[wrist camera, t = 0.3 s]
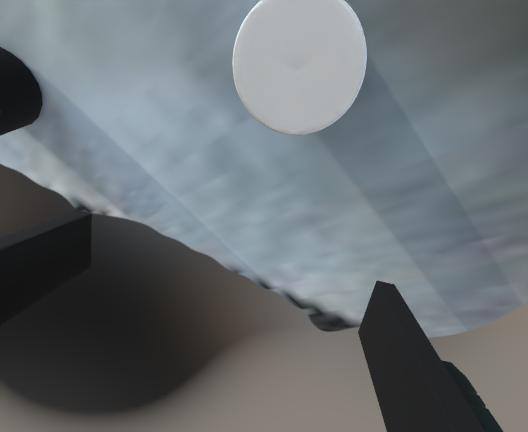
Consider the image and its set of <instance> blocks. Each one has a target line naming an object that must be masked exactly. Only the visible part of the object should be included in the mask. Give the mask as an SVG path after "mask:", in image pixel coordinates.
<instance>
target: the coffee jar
mask: <svg viewBox="0 0 528 432" xmlns="http://www.w3.org/2000/svg"><path fill="white" fill-rule="evenodd" d="M41 107H42V94H41V91H40V88H39V85H38V83H37V81H36V79H35V78H34V76H33V74H32V73H31V71H30V70H29V69H28V68H27V67H26V66H25V64H24V63H23V62H22V61H21V60H19V59H18V58H17V57H16V56H14V55H13V54H12V53H10V52H8V51H6V50H5V49H3V48H1V47H0V135H3V134H5V133H8V132H11V131H13V130H16V129H19V128H21V127H24V126H27V125H29V124H32V123H33V122H34V121H35V120H36V119H37V118H38V117H39V114H40V111H41Z"/></svg>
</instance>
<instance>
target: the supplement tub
mask: <svg viewBox="0 0 528 432" xmlns="http://www.w3.org/2000/svg"><path fill="white" fill-rule="evenodd" d="M366 62H367V50H366V41H365V36H364V32H363V28H362V26H361V23H360V21H359V19H358V17H357V15H356V14H355V12H354V11H353V9H352V8H351V7H350V5H349V4H348V3H347V2H346V1H345V0H261V1H260V2H259V3H258V4H256V6H255V7H254V8H253V9H252V10H251V11H250V12H249V14H248V15H247V17H246V18H245V20H244V22H243V23H242V25H241V27H240V29H239V32H238V34H237V37H236V41H235V45H234V50H233V59H232V67H233V76H234V82H235V85H236V89H237V92H238V94H239V96H240V99H241V100H242V102H243V104H244V106H245V107H246V109H247V110H248V111H249V112H250V114H251V115H252V116H253V117H254V118H255V119H257V120H258V121H259V122H260V123H261V124H263V125H264V126H266V127H268V128H270V129H272V130H274V131H277V132H280V133H284V134H290V135H303V134H309V133H313V132H317V131H319V130H321V129H324V128H326V127H328V126H329V125H331V124H333V123H334V122H335V121H337V120H338V119H339V118H340V117H341V116H342V115H343V114H344V113H345V112H346V111H347V110H348V109H349V107H350V106H351V105H352V103H353V102H354V100H355V98H356V97H357V95H358V93H359V91H360V88H361V85H362V83H363V79H364V75H365V71H366Z"/></svg>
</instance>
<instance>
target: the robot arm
mask: <svg viewBox="0 0 528 432" xmlns="http://www.w3.org/2000/svg"><path fill="white" fill-rule="evenodd" d="M91 220H92V214H90V213H86V212H82V211H77V210H75V211H72V212H69V213H67V214H64V215H61V216H58V217H55V218H52V219H50V220H47V221H44V222H41V223H38V224H36V225H33V226H30V227H27V228H24V229H22V230H19V231H16V232H13V233H11V234H7V235H5V236H2V237H0V326H1V325H2V324H4V323H5V322H7V321H8V320H10V319H11V318H13V317H14V316H16V315H17V314H19V313H21V312H22V311H24V310H25V309H27V308H28V307H30V306H31V305H33V304H34V303H36V302H38V301H39V300H41V299H42V298H44V297H45V296H47V295H48V294H50V293H51V292H53V291H54V290H56V289H57V288H59V287H61V286H62V285H63V284H65V283H67V282H68V281H70V280H71V279H73V278H74V277H76V276H77V275H79V274H81V273H82V272H84V271H85V270H86V269H88V268H90V267H91ZM358 333H359V337H360V340H361V344H362V347H363V351H364V354H365V357H366V361H367V364H368V368H369V371H370V375H371V378H372V381H373V385H374V388H375V392H376V395H377V398H378V402H379V406H380V409H381V412H382V416H383V419H384V423H385V426H386V430H387V432H503V431H502V429H501V427H500V426H499V425H498V423H497V422H496V420H495V419H494V417H493V416H492V414H491V413H490V411H489V410H488V409H486V408H485V404H484V402H483V401H482V399H481V398H480V396H478V395H477V392H476V391H475V389H474V388H473V386H472V385H471V383H470V382H469V380H468V379H467V378H466V376H465V375H464V374H463V373H462V372H460V371H459V370H458V369H457V368H456V367H455V366H454V365H453V364H452V363H450V362H446V361H442V360H440V358H439V356H438V355H437V353H436V351H435V350H434V348H433V346H432V345H431V343H430V342H429V340H428V338H427V337H426V335H425V333H424V332H423V330H422V329H421V327H420V325H419V324H418V322H417V320H416V319H415V317H414V316H413V314H412V312H411V311H410V309H409V307H408V306H407V304H406V303H405V301H404V299H403V298H402V296H401V294H400V293H399V291H398V290H397V288H396V286H395V285H394V284H390V283H386V282H381V281H376V284H375V287H374V289H373V292H372V295H371V298H370V301H369V303H368V306H367V309H366V312H365V315H364V317H363V320H362V323H361V326H360V328H359V331H358Z"/></svg>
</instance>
